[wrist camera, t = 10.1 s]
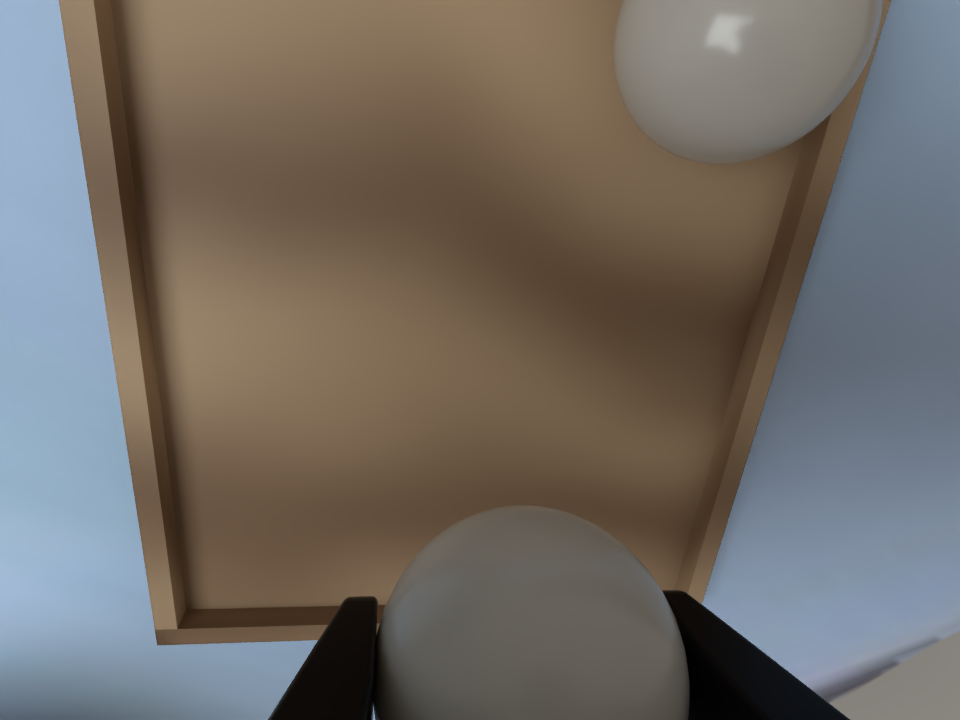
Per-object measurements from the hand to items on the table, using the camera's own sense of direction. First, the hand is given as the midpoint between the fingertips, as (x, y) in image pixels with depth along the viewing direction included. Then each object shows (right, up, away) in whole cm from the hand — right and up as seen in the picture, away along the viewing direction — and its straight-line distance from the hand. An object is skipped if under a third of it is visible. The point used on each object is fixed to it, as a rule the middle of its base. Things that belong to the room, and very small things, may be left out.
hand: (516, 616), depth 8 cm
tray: (-1, +6, +4) cm, 7 cm away
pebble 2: (+3, +9, +3) cm, 10 cm away
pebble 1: (0, 0, +1) cm, 1 cm away
